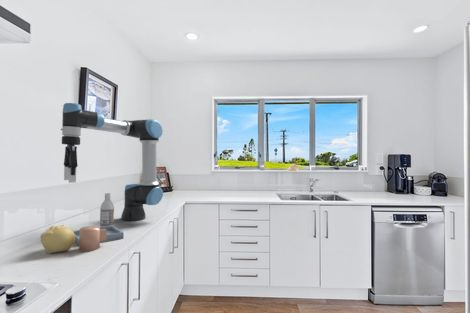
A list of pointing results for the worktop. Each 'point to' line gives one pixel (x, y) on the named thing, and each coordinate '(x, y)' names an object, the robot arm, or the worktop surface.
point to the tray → (111, 234)
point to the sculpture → (57, 239)
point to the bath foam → (107, 212)
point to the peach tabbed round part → (91, 238)
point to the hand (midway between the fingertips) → (69, 181)
